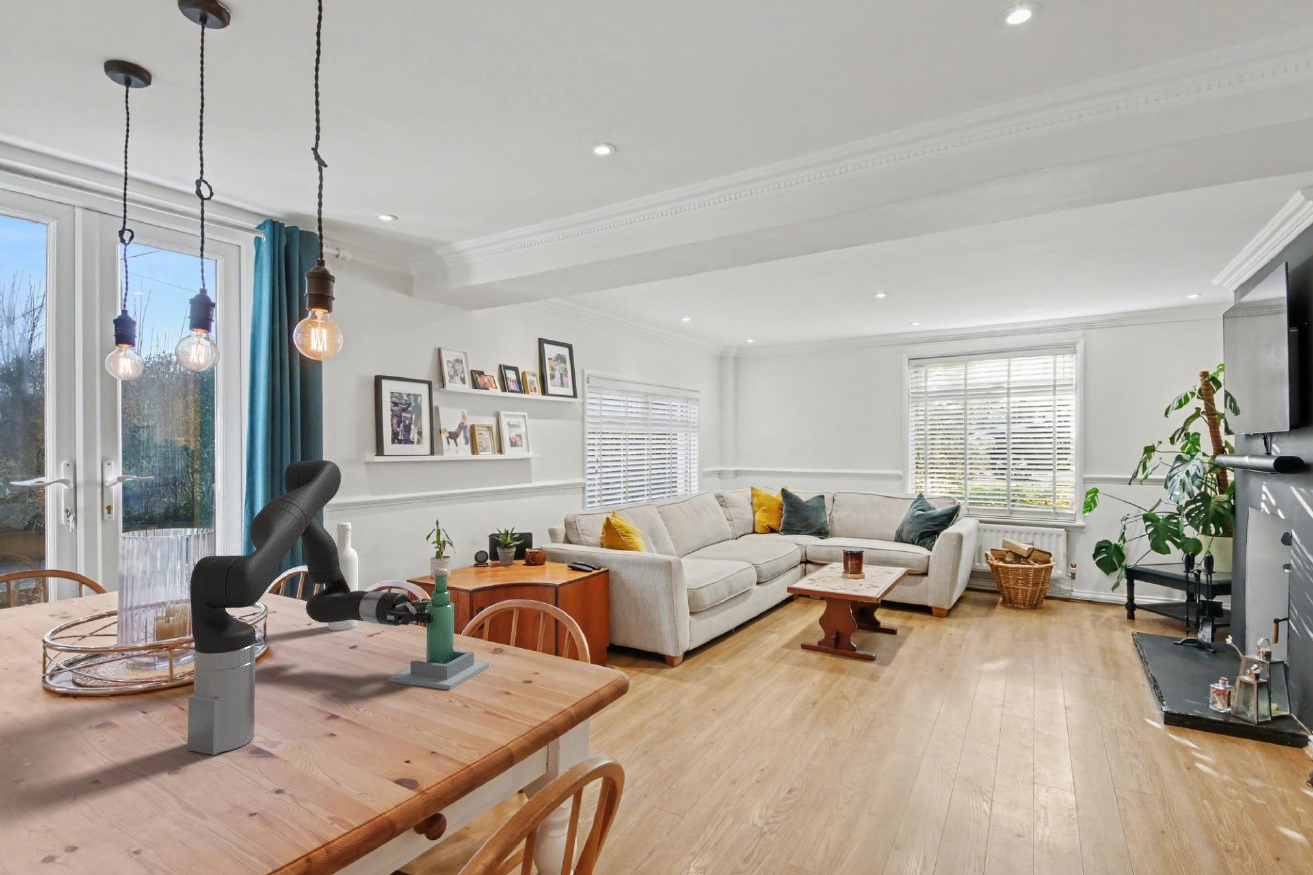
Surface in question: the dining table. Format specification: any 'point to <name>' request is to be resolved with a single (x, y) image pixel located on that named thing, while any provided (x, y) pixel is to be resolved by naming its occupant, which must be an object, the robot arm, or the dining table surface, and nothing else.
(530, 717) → the dining table surface
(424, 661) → the bottle rest
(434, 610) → the bottle
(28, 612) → the dining table surface
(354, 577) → the bottle
